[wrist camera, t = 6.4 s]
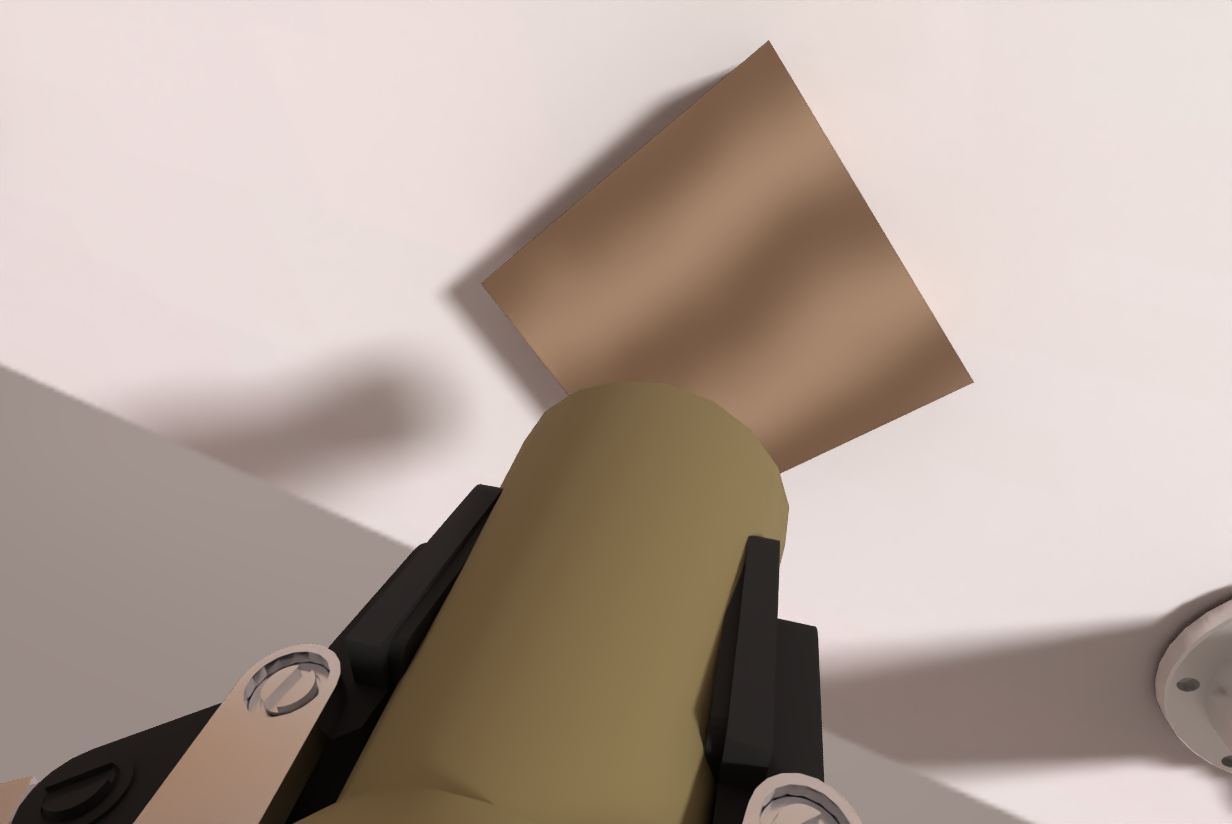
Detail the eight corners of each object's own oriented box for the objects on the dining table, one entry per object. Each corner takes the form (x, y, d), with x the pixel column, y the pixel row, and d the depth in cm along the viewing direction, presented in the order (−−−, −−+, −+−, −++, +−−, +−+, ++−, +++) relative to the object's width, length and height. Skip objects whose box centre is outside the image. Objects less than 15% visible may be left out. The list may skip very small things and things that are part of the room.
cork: (798, 621, 13) (808, 1875, 4) (549, 610, 15) (141, 1432, 6) (776, 367, 11) (656, 1969, 2) (486, 391, 13) (-386, 1167, 3)
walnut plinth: (949, 346, 26) (973, 382, 22) (683, 480, 32) (670, 525, 29) (772, 51, 23) (768, 40, 19) (518, 263, 29) (481, 283, 26)
